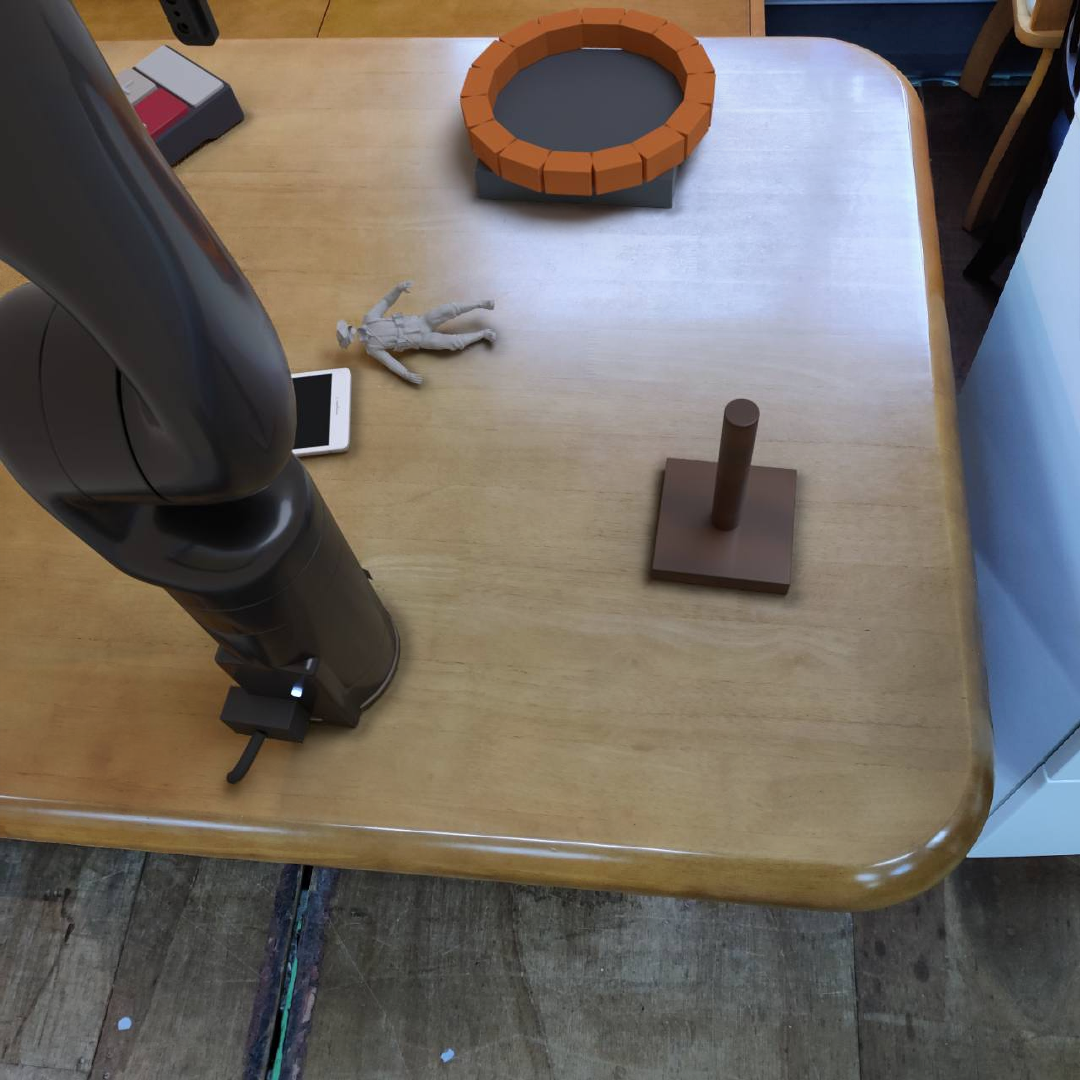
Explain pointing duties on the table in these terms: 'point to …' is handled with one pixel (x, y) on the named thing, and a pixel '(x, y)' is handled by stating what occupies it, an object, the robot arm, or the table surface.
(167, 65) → the grey and red box
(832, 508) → the table surface
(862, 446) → the table surface
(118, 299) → the robot arm
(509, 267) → the table surface
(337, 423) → the cell phone
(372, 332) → the soldier figure
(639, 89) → the stand
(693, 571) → the post
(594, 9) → the ring
